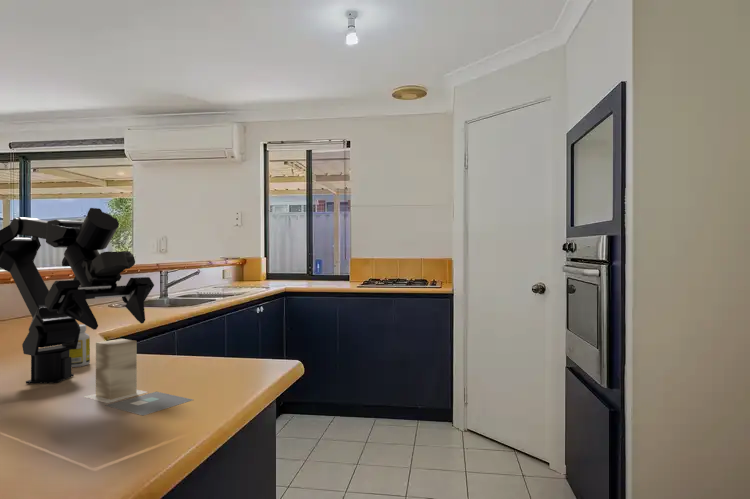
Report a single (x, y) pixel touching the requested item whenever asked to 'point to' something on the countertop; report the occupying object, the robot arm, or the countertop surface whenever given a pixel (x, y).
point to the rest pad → (113, 399)
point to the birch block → (116, 368)
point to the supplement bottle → (81, 349)
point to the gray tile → (149, 403)
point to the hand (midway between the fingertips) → (120, 324)
